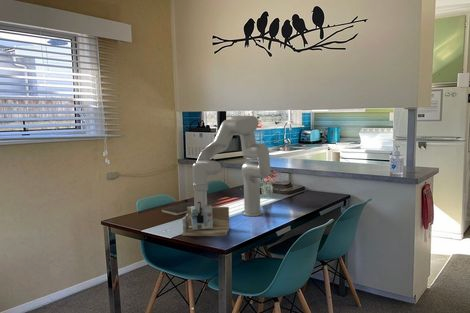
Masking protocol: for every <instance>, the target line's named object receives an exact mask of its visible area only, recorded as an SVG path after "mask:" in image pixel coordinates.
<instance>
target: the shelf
mask: <svg viewBox="0 0 470 313" xmlns="http://www.w3.org/2000/svg"><path fill="white" fill-rule="evenodd" d="M211 207H212V217H213V228H209V229H196V230H193V229H192V220H191V207H187V211H188V213H185V214H186V215H185V216H183V218H182V233H181V235H182V237H226V236H227V234H228V232H229V230H230V207H229V206H211Z"/></svg>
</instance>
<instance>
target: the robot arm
mask: <svg viewBox="0 0 470 313" xmlns="http://www.w3.org/2000/svg"><path fill="white" fill-rule="evenodd" d="M258 127H259V120H258V118H257V117H256V116H255V115H235V116H232V117H231V118H230V119H224V120H223V121H222V122H221V124H220V127H219V128H218V131H217V132H216V135H215V136H214V138H213V141H212V142H210V144H208V145H207V146H206V147H205V148H204V149H202V150H201V151H200V153H199V155H198V157H197V160H196V161H195V162H194V163H193V164H192V165H191V166H192V167H191V168H192V188H193V191H194V194H193V195H194V196H193V199H194V200H193V202H194V209H195V210H197V223H203V222H204V220H203V210H204V209H205V207H206V206H207V205H208V197H207V196H208V195H207V194H208V193H207V191H208V190H209V178H208V177H209V176H210V177H211V176H217V175H219V174H220V173H221V171H222V165H221V164H220V162H218V161H216V160H211V158H212V157H214V156H215V155H218V154H220V153H223V152H224V151H226V150H227V149H228V148H229V146H230V144H231V141H232V139H233V136H239V137H240V144H241V152H242V157H243V159H246V160H248V161H245V162H244V163H243V164H242V165H241V174H242V178H243V179H242V180H243V197H244V198H243V200H244V201H243V203H244V204H243V207H244V210H243V211H242V212H241V215H242V216H246V217H258V216H262V215H263V214H264V211H263V210H261V186H260V185H261V183H260V181H259V179H267V178H268V177H269V176H270V174H271V159H270V152H269V151H270V150H269V148H268V147H267V145H266V144H264V143H257V140H256V134H255V131H256V130H257V128H258ZM251 160H252V161H251Z"/></svg>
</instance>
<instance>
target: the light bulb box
mask: <svg viewBox="0 0 470 313" xmlns="http://www.w3.org/2000/svg"><path fill="white" fill-rule="evenodd" d="M212 207H213V206H212V204H207V206H206V207H205V209H204V210H203V220H204V222H203V223H197V210H195V209H194V206H191V220H192V229H193V230H196V229H209V228H213V217H212Z"/></svg>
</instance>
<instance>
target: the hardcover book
mask: <svg viewBox="0 0 470 313" xmlns="http://www.w3.org/2000/svg"><path fill="white" fill-rule="evenodd" d="M191 206H194V203H193V202H185V203H181V204H177V205H176V204H175V205H173V206H168V207H165V208H164V207H163V208H161V209H160V212H162V213H165V214H169V215H174V216H180V215H183V214H188V211H187V207H191Z"/></svg>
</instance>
